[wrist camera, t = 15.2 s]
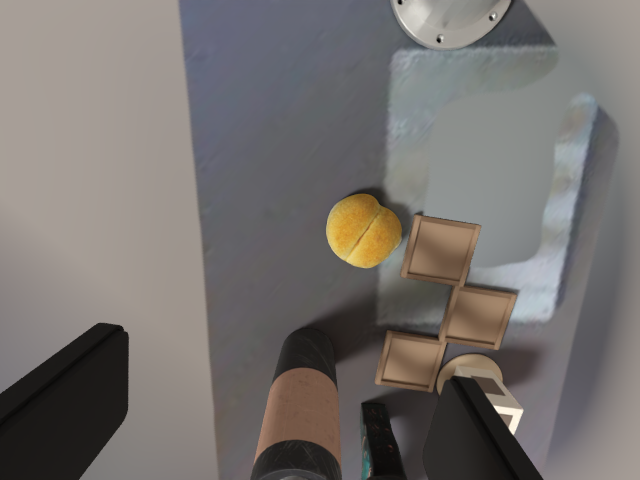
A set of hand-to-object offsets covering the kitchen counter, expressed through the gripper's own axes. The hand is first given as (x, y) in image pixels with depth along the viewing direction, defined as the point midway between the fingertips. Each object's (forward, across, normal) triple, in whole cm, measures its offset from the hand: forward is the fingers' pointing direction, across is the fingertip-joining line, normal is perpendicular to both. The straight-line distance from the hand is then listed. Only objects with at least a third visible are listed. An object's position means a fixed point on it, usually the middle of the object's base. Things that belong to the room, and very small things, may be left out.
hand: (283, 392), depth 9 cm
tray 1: (+30, -16, +2) cm, 34 cm away
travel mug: (+31, -2, +19) cm, 36 cm away
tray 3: (+30, -16, +18) cm, 39 cm away
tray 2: (+30, -23, +10) cm, 39 cm away
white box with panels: (+30, -25, +20) cm, 44 cm away
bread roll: (+31, -6, +1) cm, 31 cm away
